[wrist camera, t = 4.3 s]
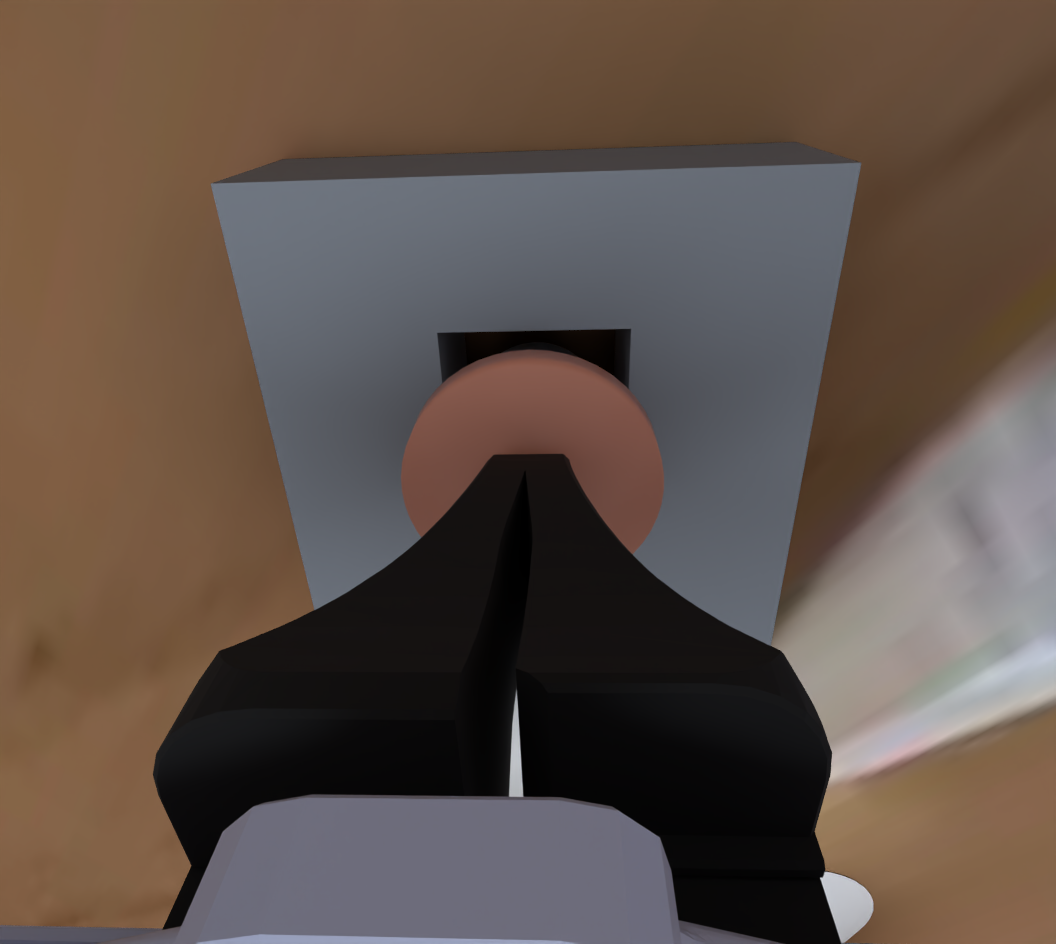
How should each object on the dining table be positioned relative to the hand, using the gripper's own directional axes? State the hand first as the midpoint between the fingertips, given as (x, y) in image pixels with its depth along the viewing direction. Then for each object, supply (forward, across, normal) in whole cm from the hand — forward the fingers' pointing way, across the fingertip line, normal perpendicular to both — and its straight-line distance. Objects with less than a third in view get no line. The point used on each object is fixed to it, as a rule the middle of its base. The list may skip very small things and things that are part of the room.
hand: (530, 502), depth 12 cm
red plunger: (+4, 0, 0) cm, 4 cm away
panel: (+7, 0, +5) cm, 9 cm away
